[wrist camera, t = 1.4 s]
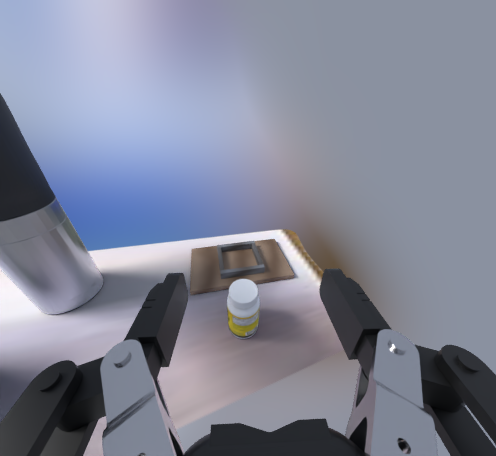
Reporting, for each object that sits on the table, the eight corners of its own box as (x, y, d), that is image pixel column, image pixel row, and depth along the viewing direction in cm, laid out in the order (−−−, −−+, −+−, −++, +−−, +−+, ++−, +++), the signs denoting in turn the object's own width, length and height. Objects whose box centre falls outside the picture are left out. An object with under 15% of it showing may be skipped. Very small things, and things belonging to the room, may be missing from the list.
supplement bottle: (232, 308, 32) (231, 273, 28) (260, 313, 32) (263, 279, 27) (224, 336, 28) (221, 301, 24) (255, 343, 28) (258, 308, 23)
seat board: (190, 295, 34) (188, 285, 33) (192, 252, 44) (190, 243, 43) (293, 278, 38) (295, 269, 37) (274, 242, 48) (275, 233, 47)
